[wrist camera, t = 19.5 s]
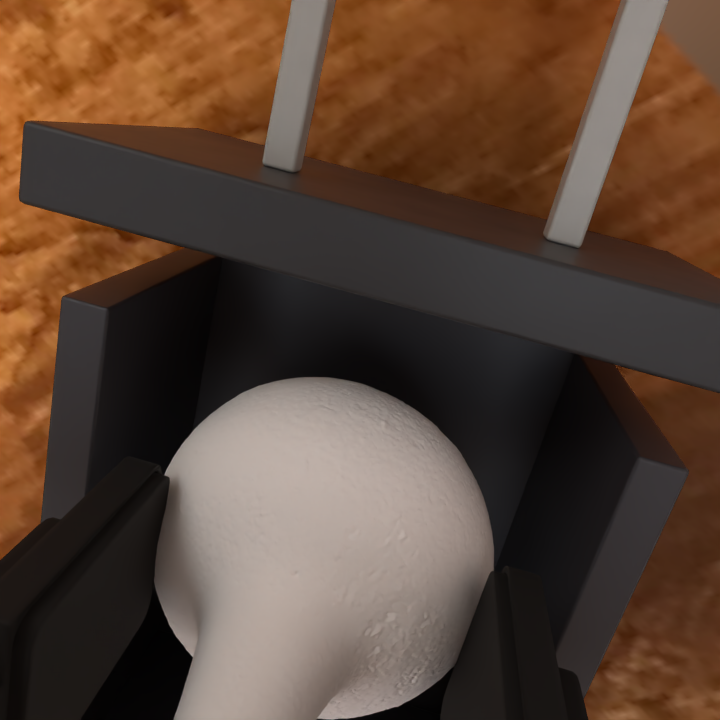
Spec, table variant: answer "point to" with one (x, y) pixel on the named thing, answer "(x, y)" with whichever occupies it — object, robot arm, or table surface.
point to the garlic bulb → (318, 553)
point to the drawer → (381, 334)
